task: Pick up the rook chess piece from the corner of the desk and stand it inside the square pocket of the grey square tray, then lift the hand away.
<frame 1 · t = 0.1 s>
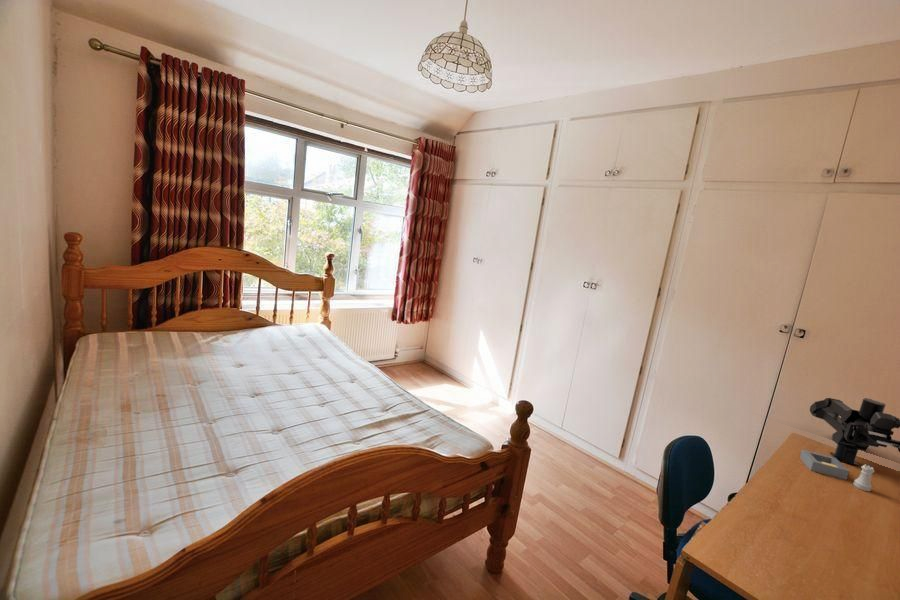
hand: (896, 450, 130), 17 cm above the table, tool horizontal, fingers open, 9 cm apart
rook chess piece: (861, 488, 136), on the table
grey square tray: (821, 468, 147), on the table
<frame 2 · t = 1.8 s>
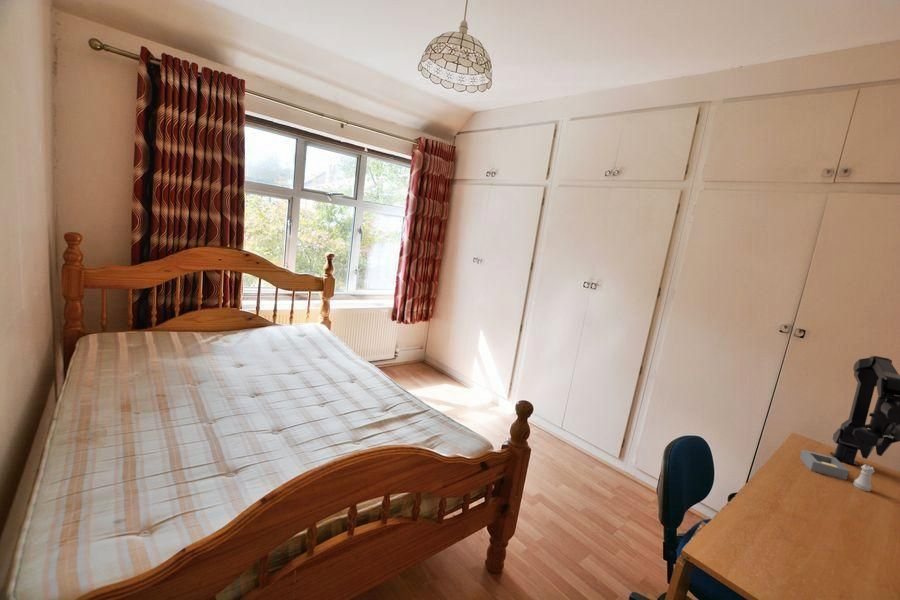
hand: (871, 456, 135), 12 cm above the table, tool pointing down, fingers open, 9 cm apart
nothing on the table moved.
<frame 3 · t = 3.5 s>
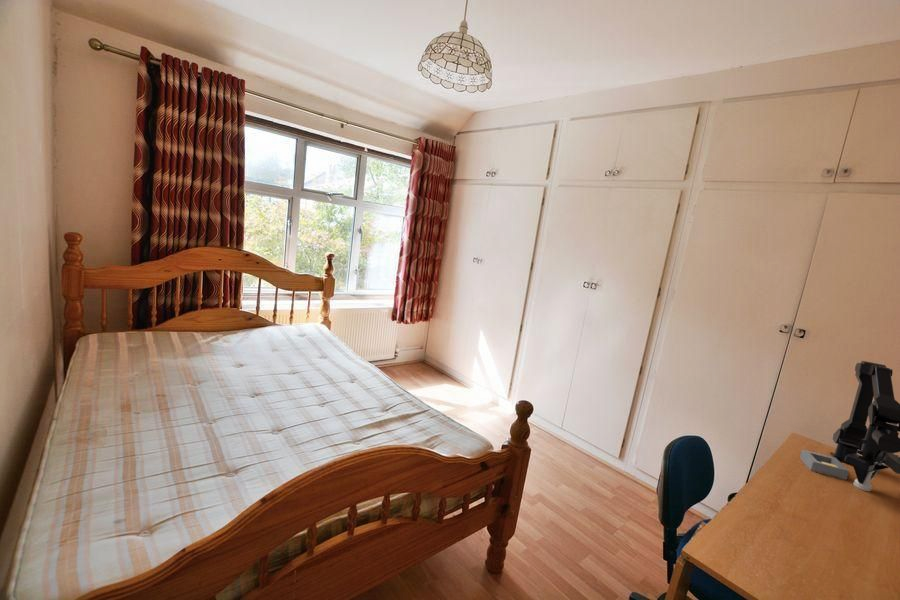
hand: (863, 482, 136), 2 cm above the table, tool pointing down, fingers closed on rook chess piece, 3 cm apart
rook chess piece: (861, 488, 136), on the table, touching gripper
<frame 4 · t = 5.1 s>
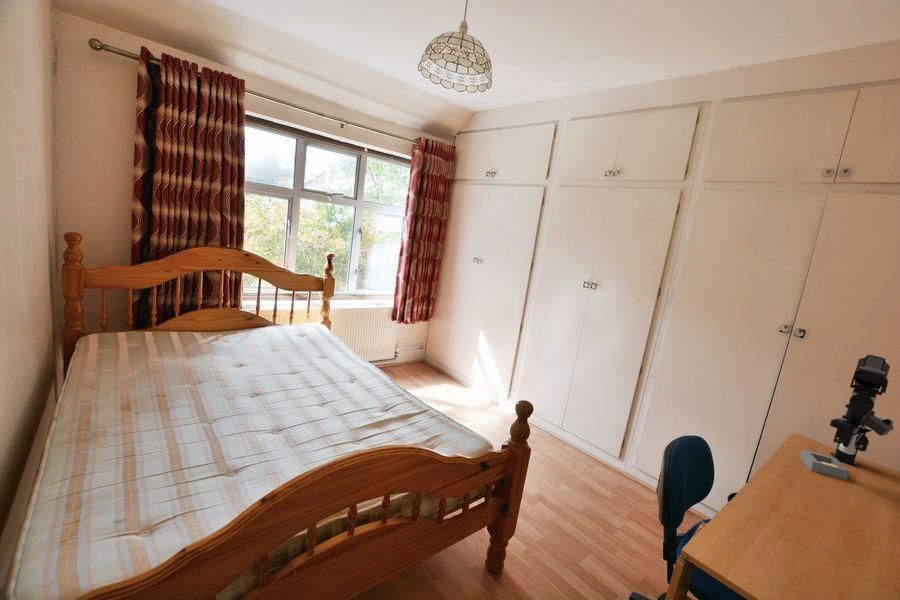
hand: (848, 446, 140), 12 cm above the table, tool pointing down, fingers closed on rook chess piece, 3 cm apart
rook chess piece: (846, 452, 141), point 9 cm above the table, touching gripper
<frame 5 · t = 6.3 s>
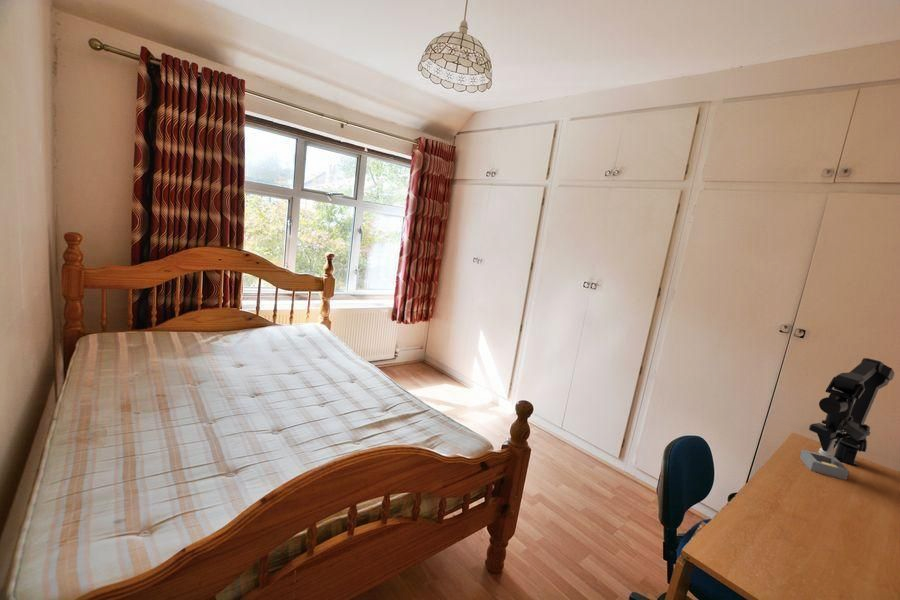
hand: (827, 450, 146), 7 cm above the table, tool pointing down, fingers closed on rook chess piece, 3 cm apart
rook chess piece: (825, 456, 146), point 5 cm above the table, touching gripper
when the fingers open (4 cm above the table, at t = 7.1 s): rook chess piece drops 1 cm, resting on grey square tray.
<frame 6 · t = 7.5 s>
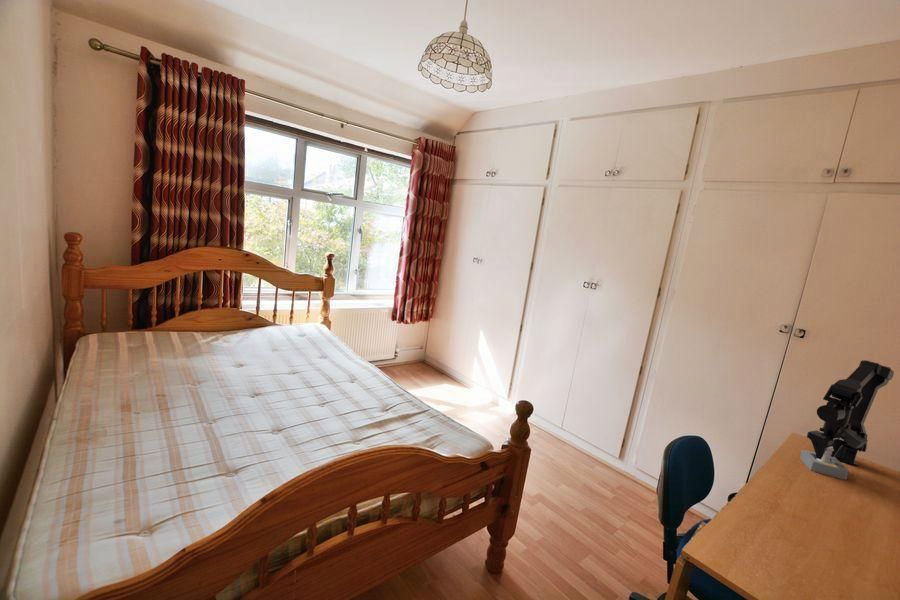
hand: (825, 457, 146), 4 cm above the table, tool pointing down, fingers open, 8 cm apart
rook chess piece: (822, 466, 147), point 1 cm above the table, touching grey square tray
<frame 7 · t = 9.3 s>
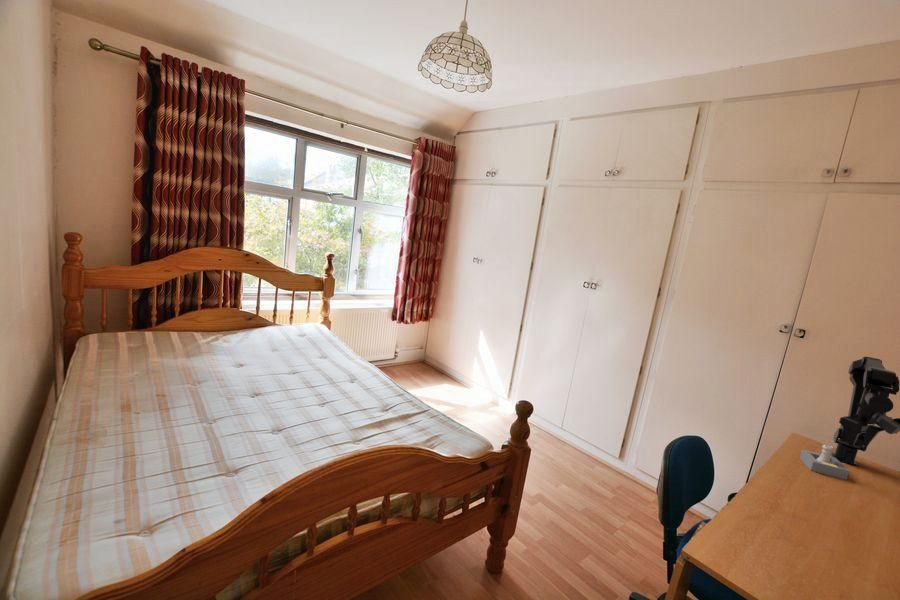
hand: (858, 444, 143), 12 cm above the table, tool pointing down, fingers open, 9 cm apart
nothing on the table moved.
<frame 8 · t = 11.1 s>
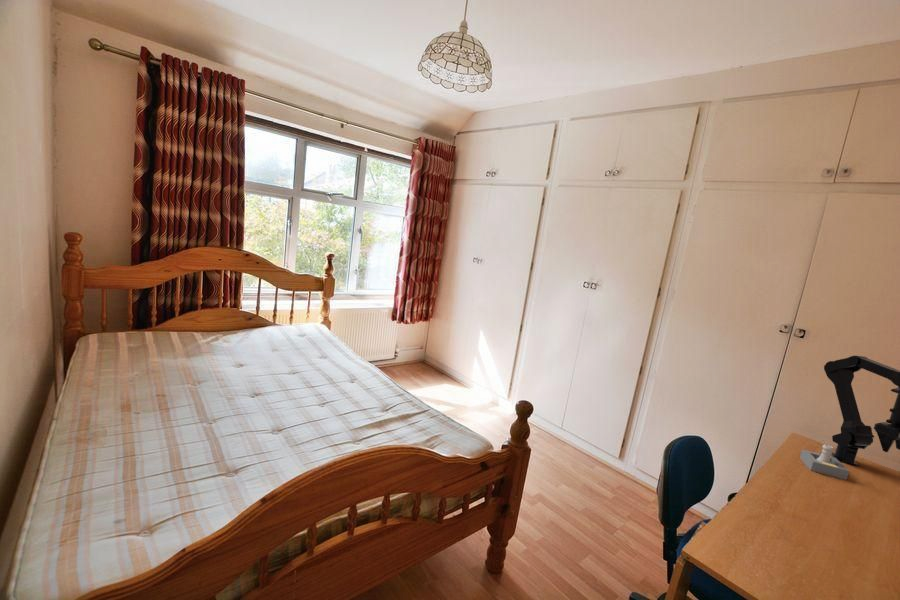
hand: (891, 450, 141), 12 cm above the table, tool pointing down, fingers open, 9 cm apart
nothing on the table moved.
at the end: rook chess piece 0.1 cm off-centre on the grey square tray, point 0.8 cm above the grey square tray's base; rook chess piece tilted 0°; the gripper is holding nothing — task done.
